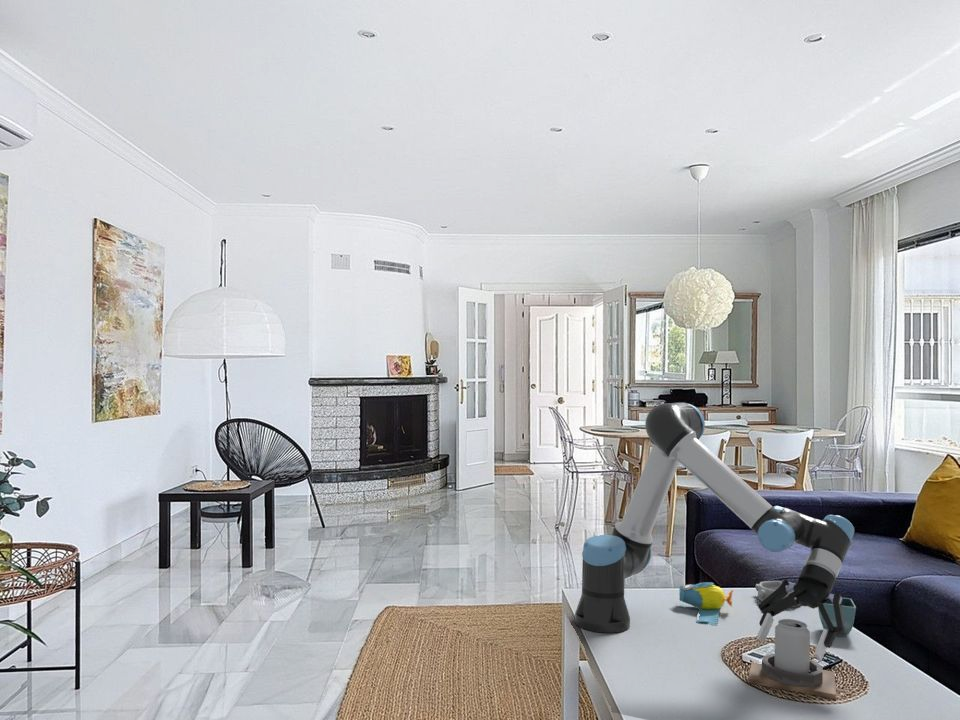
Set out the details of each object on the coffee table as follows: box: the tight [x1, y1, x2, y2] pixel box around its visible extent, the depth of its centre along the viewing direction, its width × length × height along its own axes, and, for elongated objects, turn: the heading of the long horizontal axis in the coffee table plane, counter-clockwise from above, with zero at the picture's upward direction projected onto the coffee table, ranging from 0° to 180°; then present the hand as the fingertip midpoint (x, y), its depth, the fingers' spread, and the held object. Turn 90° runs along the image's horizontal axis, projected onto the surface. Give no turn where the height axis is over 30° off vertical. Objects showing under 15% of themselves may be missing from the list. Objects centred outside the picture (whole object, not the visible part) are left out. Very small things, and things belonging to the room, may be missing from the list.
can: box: [774, 618, 811, 673], centre depth 171 cm, size 8×8×12 cm
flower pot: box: [817, 597, 857, 638], centre depth 203 cm, size 9×9×9 cm
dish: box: [755, 580, 802, 608], centre depth 232 cm, size 14×14×5 cm
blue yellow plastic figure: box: [679, 581, 734, 626], centre depth 221 cm, size 28×9×15 cm
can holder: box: [747, 653, 837, 700], centre depth 171 cm, size 18×14×4 cm
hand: (788, 648), depth 170 cm, fingers open, 13 cm apart
